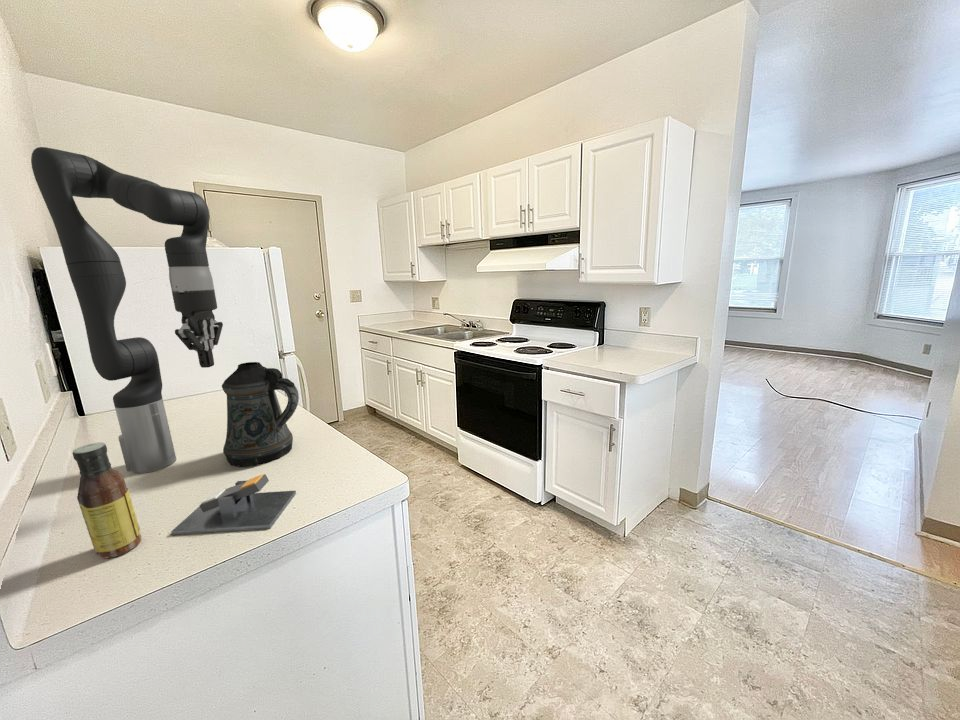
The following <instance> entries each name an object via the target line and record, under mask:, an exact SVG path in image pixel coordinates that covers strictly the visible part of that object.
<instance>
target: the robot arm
mask: <svg viewBox="0 0 960 720" xmlns="http://www.w3.org/2000/svg"><path fill="white" fill-rule="evenodd" d="M30 158H31V159H30V165H31V169H32V173H33V176H34V179H35V181H36V184H37V186H38V189H39V191H40V194H41V196H42V198H43V201H44V203H45V206H46V208H47V210H48V213H49V214H50V217H51V220H52V222H53V225H54V228H55V230H56V234H57V237H58V239H59V242H60V246H61V249H62V253H63V257H64V260H65V261H64V262H65V264H66V268H67V270H68V274H69V277H70V280H71V283H72V285H73V288H74V292H75V294H76V297H77V300H78V304H79V307H80V311H81V314H82V318H83V322H84V326H85V331H86V337H87V342H88V348H89V352H90V356H91V360H92V361H91V362H92V363H93V367H94V368H95V370H96V372H97V373H98V375H99V376H100V377H101V378H103V379H104V380H107V381H112V382H113V381H119V380H121V379H122V380H123V379H127V378H131V379H130V380H129V382H128V383H127V385H126V386H125V387H124V388H122V389H120V390H118V391H117V392H116V393H115V394H114V395H113V396H112V402H113V405H114V409H115V413H116V416H117V417H116V419H117V420H118V425H119V429H120V432H121V434H120V435H118V437H117V438H118V442H119V445H120V450H121V454H122V457H123V462H124V465H125V469H126V471H127V472H131V473H134V474H144V473H145V474H146V473H152V472H154V471H157V470H161V469H163V468H166V467H168V466H170V465H172V464H174V463H175V462H176V461H177V457H176V456H177V455H176V451H175V448H174V442H173V438H172V434H171V430H170V429H171V428H170V424H169V422H168V421H169V420H168V416H167V412H166V408H165V404H164V399H163V398H164V397H163V395H162V390H163V380H162V375H161V373H162V372H161V367H160V361H159V355H158V353H157V350H156V347H155V346H154V344H152V342H151V341H150V340H149V339H147V338H145V337H142V336H141V337H138V336H137V337H130V338H123V339H117V336H116V335H117V334H116V330H115V318H116V317H115V316H116V313H117V310H118V307H119V305H120V303H121V301H122V299H123V296H124V294H125V291H126V287H127V280H126V275H125V272H124V268H123V266H122V262H121V259H120V257H119V254H118V252H117V251H116V250H115V249H114V247H113V246H112V245H110V244H109V243H108V241H106V239H105V238H104V237H103V236H101V234H99V232H97V230H95V229H94V228H93V226H91V225H90V224H89V223H88V221H87V220H86V219H85V217H83V214H82V213H81V212H80V210H79V208H78V205H77V204H76V201H75V199H74V197H75V198H76V197H77V198H83V199H85V198H86V199H110V200H113V201H114V202H115V203H116V204H118V205H119V206H121V207H123V208H125V209H128V210H130V211H133V212H135V213H136V212H137V213H138V214H139V213H140V214H142V215H144V216H145V217H147V218H148V219H149V220H152V221H154V222H156V223H160V224H165V225H173V226H181V227H183V228H182V232H181V235H180V236H175V237H169V238H167V239H166V240H165V241H164V251H165V255H166V261H167V265H168V266H167V267H168V280H169V284H170V290H171V293H172V294H171V295H172V299H173V304H174V305H173V306H174V309H175V312H178V313H180V314H181V324H182V325H181V327H180V328H176V329H175V330H174V334H175V335H176V336H177V337H178V338H179V340H180V341H181V342H182V343H183V345H184V346H185V347H186V348H187V349H188V350H189V351H195V352H196V353H197V357H198V363H199V367H201V368H211V367H213V366H214V365H215V359H214V353H213V350H214V347H215V346H217V345H218V344H219V341H220V337H221V333H222V331H223V327H224V324H223V322H222V321H217V320H215V319H216V316H215V314H214V313H213V311H215V310H217V308H218V303H217V296H216V292H215V291H216V290H215V286H214V280H213V275H212V272H211V270H210V267H209V266H210V265H209V259H208V254H207V243H208V242H207V240H208V234H209V233H208V232H209V226H210V210H209V206H208V204H207V202H206V201H205V199H204V198H203V197H202V196H201V195H200V194H198V193H197V192H193V191H187V190H182V189H177V188H171V187H164V186H162V185H160V184H158V183H157V182H153V181H151V180H149V179H144V178H141V177H138V176H134V175H130V174H127V173H123V172H119V171H117V170H116V169H114V168H111V167H110V166H108V165H106V164H104V163H103V162H101V161H99V160H97V159H95V158H93V157H90V156H89V155H88V156H87V155H85V154H81V153H76V152H72V151H71V152H70V151H65V150H62V149H57V148H52V147H51V148H50V147H45V146H39V147H36V148H35V149H33V151H32V153H31V156H30Z"/></svg>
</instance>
